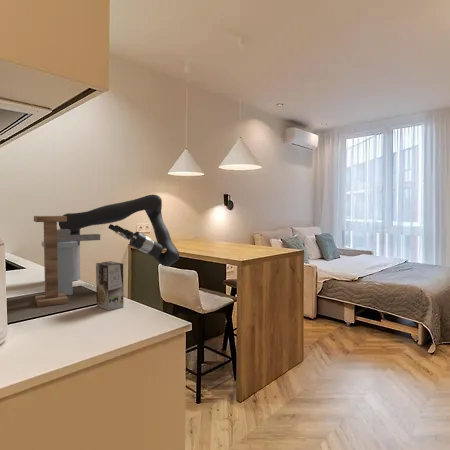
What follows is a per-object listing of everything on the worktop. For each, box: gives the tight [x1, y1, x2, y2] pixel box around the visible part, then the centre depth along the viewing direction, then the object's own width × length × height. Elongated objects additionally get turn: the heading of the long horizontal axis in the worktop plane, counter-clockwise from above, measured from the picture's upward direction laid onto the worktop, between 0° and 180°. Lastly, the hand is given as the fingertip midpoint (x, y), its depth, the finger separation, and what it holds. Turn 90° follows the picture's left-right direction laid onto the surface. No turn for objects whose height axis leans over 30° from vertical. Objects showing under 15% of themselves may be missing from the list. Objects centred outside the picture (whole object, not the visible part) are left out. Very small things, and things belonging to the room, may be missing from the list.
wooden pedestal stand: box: [33, 215, 69, 308], centre depth 132 cm, size 10×10×33 cm
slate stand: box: [41, 240, 78, 296], centre depth 145 cm, size 12×12×22 cm
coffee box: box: [95, 260, 125, 311], centre depth 127 cm, size 9×6×16 cm
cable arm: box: [57, 228, 101, 243], centre depth 148 cm, size 7×20×5 cm, turn 124°
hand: (112, 226), depth 157 cm, fingers open, 8 cm apart
